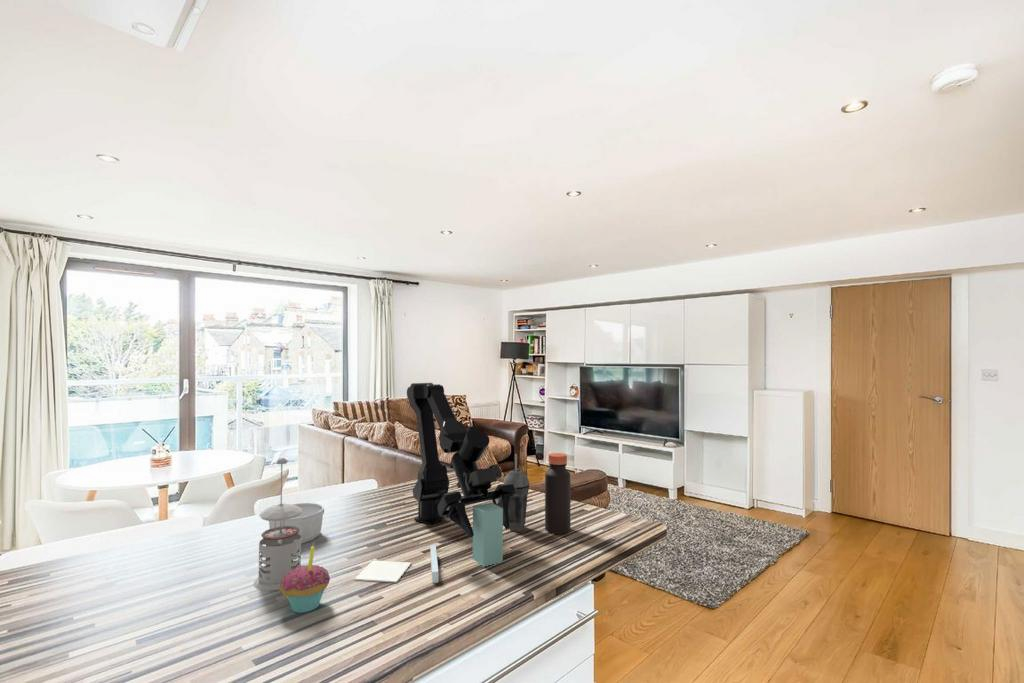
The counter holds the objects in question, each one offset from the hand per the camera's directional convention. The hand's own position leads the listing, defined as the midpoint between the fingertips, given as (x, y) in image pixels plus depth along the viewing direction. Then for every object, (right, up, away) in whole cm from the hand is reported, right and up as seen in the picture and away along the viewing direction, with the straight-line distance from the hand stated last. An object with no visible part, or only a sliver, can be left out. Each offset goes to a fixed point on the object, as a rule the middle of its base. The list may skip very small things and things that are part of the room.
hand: (490, 532), depth 108 cm
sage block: (-1, -7, +1) cm, 7 cm away
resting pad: (-23, -7, -5) cm, 24 cm away
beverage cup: (+6, -8, +22) cm, 24 cm away
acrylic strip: (-12, -7, -3) cm, 14 cm away
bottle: (+17, -8, +20) cm, 28 cm away
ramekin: (-50, -7, +15) cm, 53 cm away
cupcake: (-33, -6, -19) cm, 39 cm away
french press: (-44, -7, -8) cm, 45 cm away
